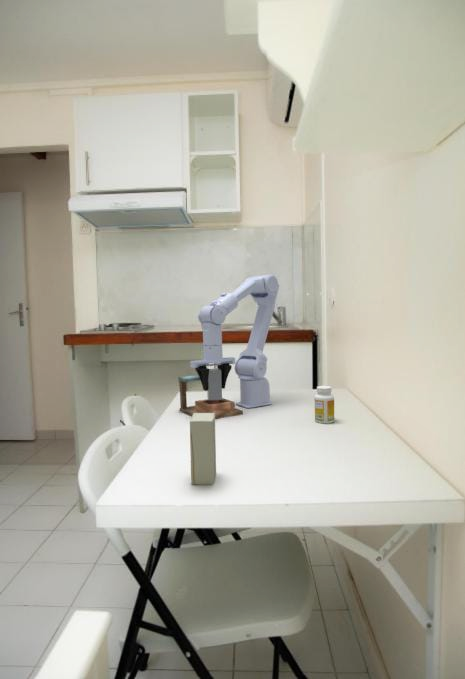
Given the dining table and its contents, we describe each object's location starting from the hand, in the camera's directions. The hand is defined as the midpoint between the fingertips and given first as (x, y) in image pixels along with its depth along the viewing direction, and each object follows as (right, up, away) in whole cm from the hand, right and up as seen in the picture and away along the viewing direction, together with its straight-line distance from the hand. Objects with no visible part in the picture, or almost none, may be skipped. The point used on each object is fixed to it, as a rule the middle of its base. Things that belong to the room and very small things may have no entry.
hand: (214, 389), depth 134 cm
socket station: (-1, -8, +3) cm, 8 cm away
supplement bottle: (+32, -8, -11) cm, 34 cm away
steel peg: (0, -3, 0) cm, 3 cm away
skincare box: (0, -12, -50) cm, 52 cm away
